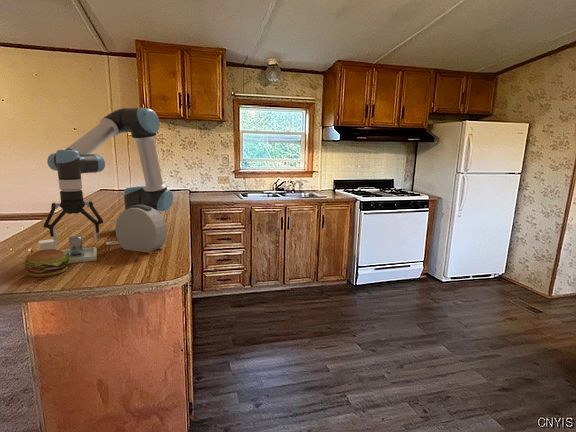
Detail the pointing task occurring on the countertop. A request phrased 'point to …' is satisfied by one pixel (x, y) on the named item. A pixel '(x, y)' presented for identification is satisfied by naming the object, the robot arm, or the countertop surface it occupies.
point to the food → (47, 263)
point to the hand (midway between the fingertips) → (76, 242)
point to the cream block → (46, 244)
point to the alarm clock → (141, 229)
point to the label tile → (113, 243)
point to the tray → (89, 255)
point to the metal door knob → (76, 246)
